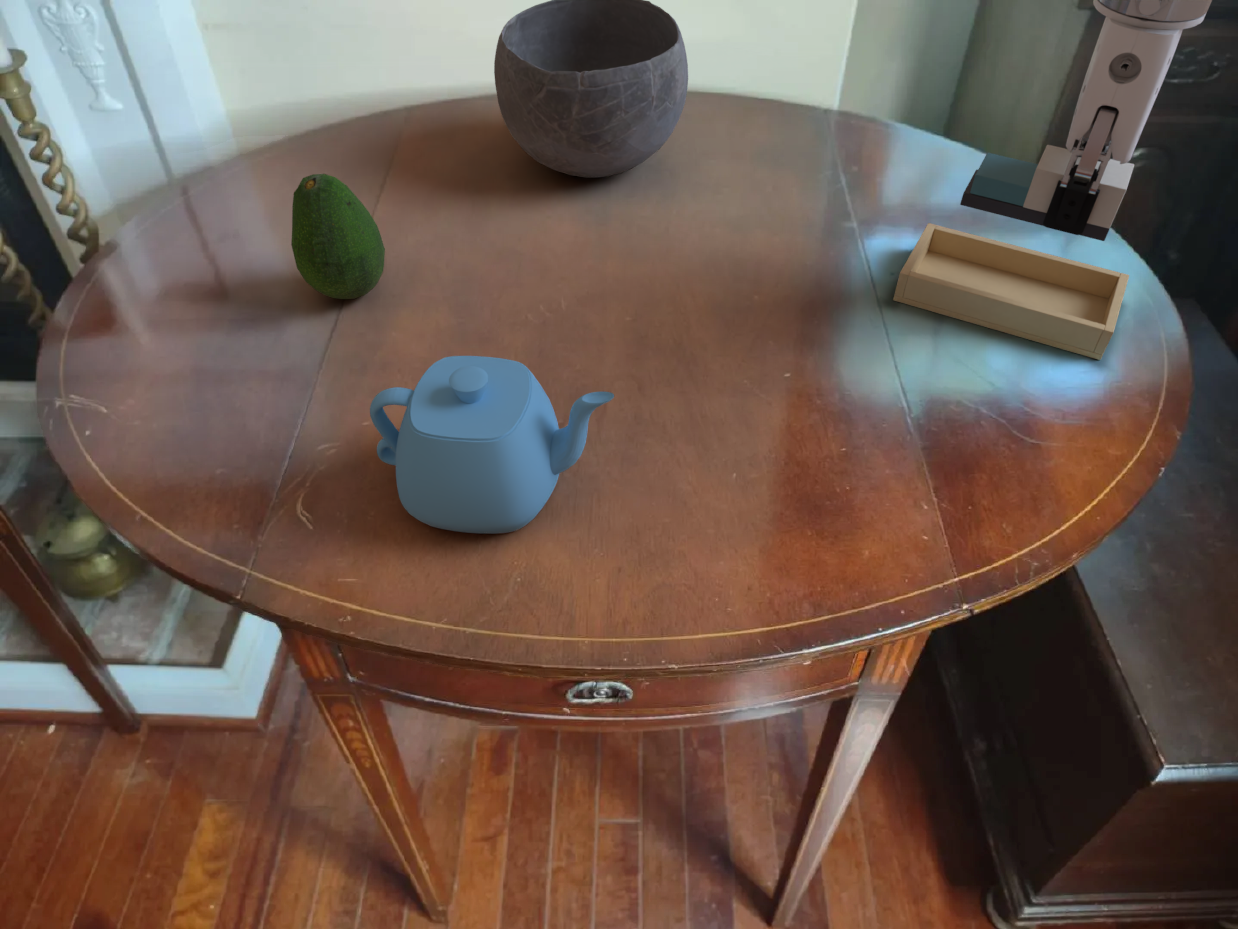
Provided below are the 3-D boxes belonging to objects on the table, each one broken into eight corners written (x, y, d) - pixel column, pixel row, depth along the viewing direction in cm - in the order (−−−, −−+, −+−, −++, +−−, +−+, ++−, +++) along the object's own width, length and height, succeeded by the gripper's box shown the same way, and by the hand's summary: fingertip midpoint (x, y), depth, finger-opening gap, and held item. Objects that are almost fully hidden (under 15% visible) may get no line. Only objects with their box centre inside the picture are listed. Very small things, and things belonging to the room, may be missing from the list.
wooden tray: (1116, 302, 88) (1129, 274, 86) (1100, 360, 83) (1113, 332, 80) (921, 249, 94) (928, 222, 92) (892, 300, 89) (899, 272, 86)
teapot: (602, 453, 60) (327, 431, 61) (604, 559, 67) (359, 536, 69) (624, 330, 68) (382, 313, 70) (624, 436, 76) (406, 419, 77)
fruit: (316, 270, 92) (284, 155, 84) (397, 268, 92) (374, 154, 84) (299, 319, 87) (263, 202, 78) (385, 318, 87) (359, 201, 78)
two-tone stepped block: (1112, 215, 81) (1134, 163, 78) (1104, 241, 78) (1126, 189, 75) (972, 181, 85) (987, 130, 82) (959, 204, 82) (974, 153, 79)
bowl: (505, 120, 114) (493, -11, 103) (674, 116, 114) (680, -15, 104) (500, 211, 100) (485, 70, 89) (693, 205, 100) (702, 64, 89)
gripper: (1201, 42, 61) (1097, 277, 74) (1222, -40, 71) (1128, 179, 85) (1080, 20, 63) (1000, 251, 77) (1118, -56, 74) (1042, 159, 87)
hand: (1068, 211), depth 80 cm, fingers closed on two-tone stepped block, 4 cm apart
